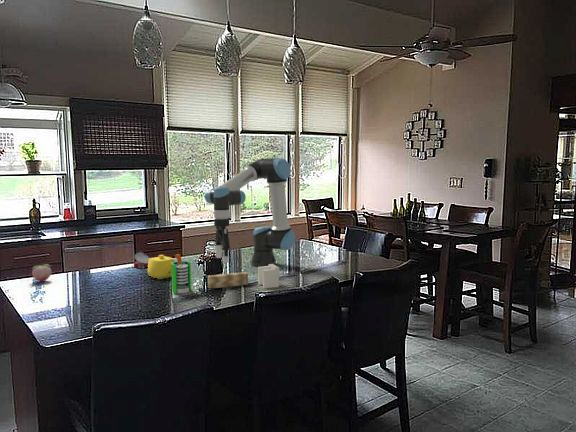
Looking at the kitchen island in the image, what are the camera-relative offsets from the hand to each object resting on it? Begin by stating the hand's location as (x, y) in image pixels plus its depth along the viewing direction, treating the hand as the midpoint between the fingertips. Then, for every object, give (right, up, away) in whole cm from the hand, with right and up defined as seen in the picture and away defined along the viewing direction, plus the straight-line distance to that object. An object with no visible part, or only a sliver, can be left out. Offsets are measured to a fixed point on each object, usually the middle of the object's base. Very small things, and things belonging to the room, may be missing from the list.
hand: (222, 260), depth 240 cm
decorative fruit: (-98, -13, +14) cm, 100 cm away
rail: (+3, -13, +3) cm, 14 cm away
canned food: (-55, -9, +48) cm, 74 cm away
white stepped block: (+23, -13, +2) cm, 27 cm away
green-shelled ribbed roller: (-19, -15, -7) cm, 25 cm away
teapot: (-36, -11, +24) cm, 45 cm away
